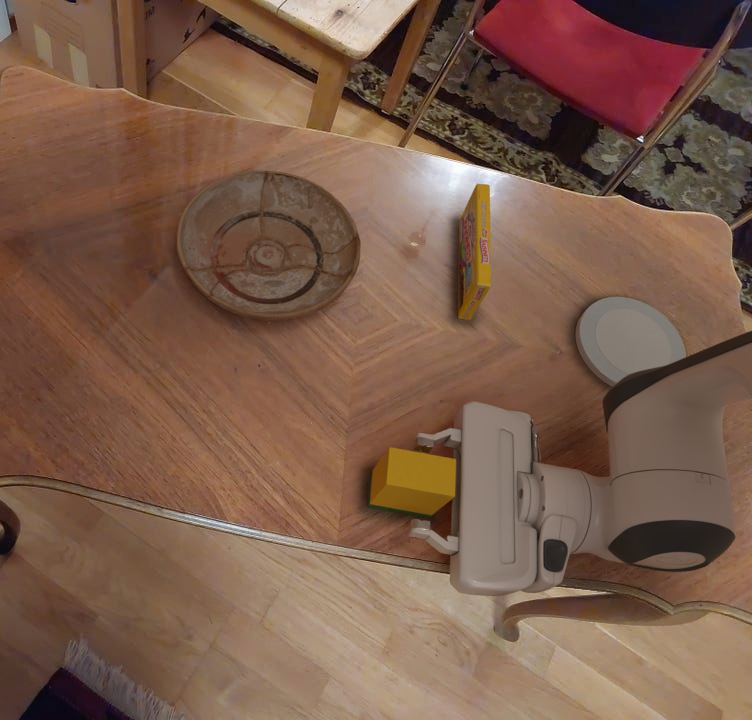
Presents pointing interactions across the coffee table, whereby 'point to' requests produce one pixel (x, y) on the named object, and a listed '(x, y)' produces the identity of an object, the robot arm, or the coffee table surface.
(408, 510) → the sponge
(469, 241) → the candy box
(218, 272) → the ceramic bowl
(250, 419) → the coffee table surface
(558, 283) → the coffee table surface
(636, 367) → the plate
